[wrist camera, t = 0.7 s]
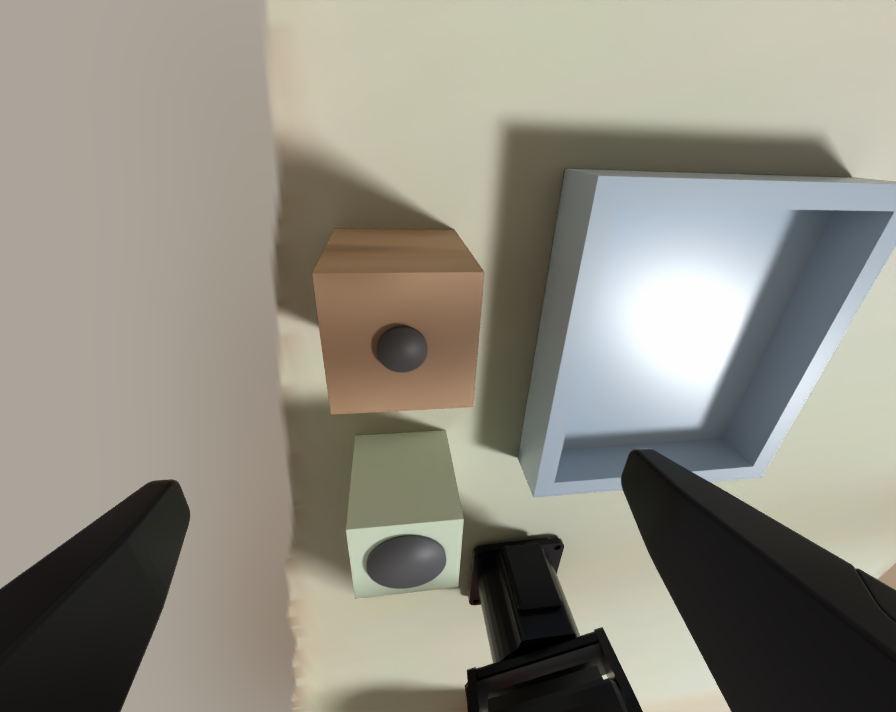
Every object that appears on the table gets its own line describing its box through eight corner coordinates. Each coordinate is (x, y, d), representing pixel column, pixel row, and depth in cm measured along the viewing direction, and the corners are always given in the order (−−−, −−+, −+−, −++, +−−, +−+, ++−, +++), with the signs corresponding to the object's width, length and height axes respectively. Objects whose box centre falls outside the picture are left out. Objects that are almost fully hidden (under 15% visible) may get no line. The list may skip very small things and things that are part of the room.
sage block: (442, 492, 25) (458, 590, 20) (361, 498, 24) (354, 603, 19) (445, 429, 23) (464, 522, 17) (355, 435, 22) (345, 534, 17)
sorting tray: (724, 443, 26) (761, 477, 24) (517, 458, 24) (533, 497, 22) (853, 177, 18) (930, 185, 16) (565, 168, 16) (598, 175, 14)
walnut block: (449, 334, 20) (474, 410, 14) (345, 336, 19) (330, 418, 14) (454, 229, 17) (485, 274, 12) (334, 228, 16) (310, 275, 11)
